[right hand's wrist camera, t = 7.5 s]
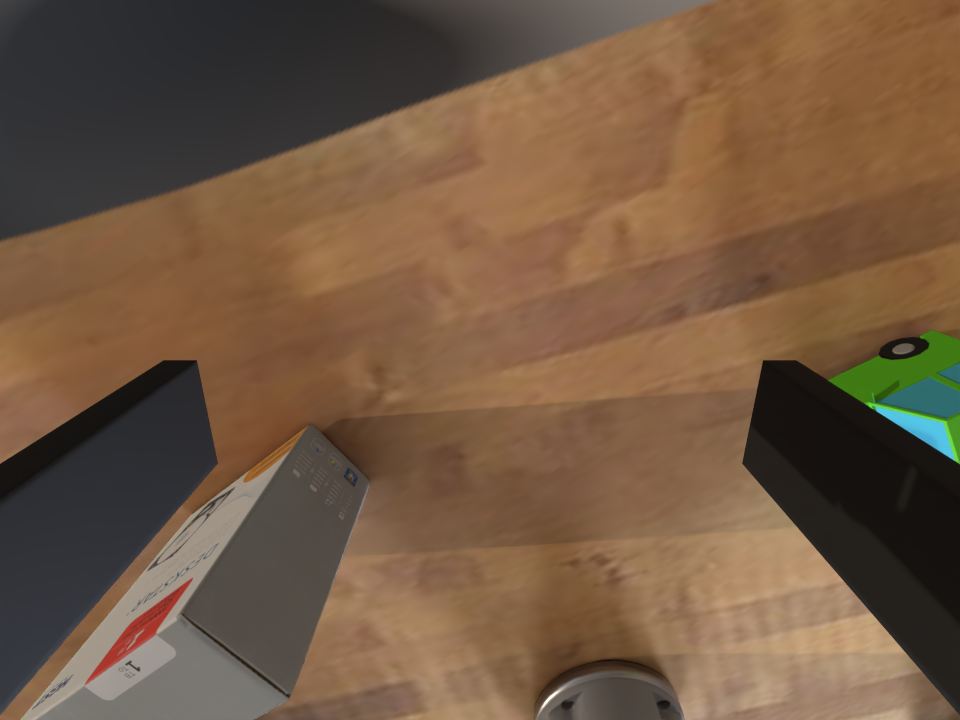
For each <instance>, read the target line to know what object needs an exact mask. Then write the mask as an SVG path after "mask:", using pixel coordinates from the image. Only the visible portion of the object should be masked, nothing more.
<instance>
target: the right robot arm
mask: <svg viewBox="0 0 960 720" xmlns="http://www.w3.org/2000/svg"><path fill="white" fill-rule="evenodd" d="M217 464H218V462H217V458H216V453H215V448H214V443H213V438H212V433H211V428H210V423H209V418H208V413H207V408H206V403H205V398H204V394H203V389H202V384H201V379H200V374H199V369H198V364H197V360H164V361H162V362H160V363H159V364H157V365H156V366H154V367H153V368H151V369H149V370H148V371H146V372H145V373H143V374H142V375H140V376H138V377H137V378H135V379H134V380H132V381H130V382H129V383H127V384H126V385H124V386H123V387H121V388H119V389H118V390H116V391H115V392H113V393H112V394H110V395H108V396H107V397H105V398H104V399H102V400H100V401H99V402H97V403H96V404H94V405H93V406H91V407H89V408H88V409H86V410H85V411H83V412H81V413H80V414H78V415H77V416H75V417H74V418H72V419H70V420H69V421H67V422H66V423H64V424H63V425H61V426H59V427H58V428H56V429H55V430H53V431H51V432H50V433H48V434H47V435H45V436H44V437H42V438H40V439H39V440H37V441H36V442H34V443H33V444H31V445H29V446H28V447H26V448H25V449H23V450H21V451H20V452H18V453H17V454H15V455H14V456H12V457H10V458H9V459H7V460H6V461H4V462H3V463H1V464H0V715H1V713H2V712H3V711H4V710H5V709H6V708H7V707H8V705H9V704H10V703H11V702H12V701H13V700H14V698H15V697H16V696H17V695H18V694H19V693H20V691H21V690H22V689H23V688H24V687H25V686H26V685H27V683H28V682H29V681H30V680H31V679H32V678H33V676H34V675H35V674H36V673H37V672H38V671H39V670H40V668H41V667H42V666H43V665H44V664H45V663H46V661H47V660H48V659H49V658H50V657H51V656H52V654H53V653H54V652H55V651H56V650H57V649H58V648H59V646H60V645H61V644H62V643H63V642H64V641H65V639H66V638H67V637H68V636H69V635H70V634H71V633H72V631H73V630H74V629H75V628H76V627H77V626H78V624H79V623H80V622H81V621H82V620H83V619H84V617H85V616H86V615H87V614H88V613H89V612H90V611H91V609H92V608H93V607H94V606H95V605H96V604H97V602H98V601H99V600H100V599H101V598H102V597H103V596H104V594H105V593H106V592H107V591H108V590H109V589H110V587H111V586H112V585H113V584H114V583H115V582H116V580H117V579H118V578H119V577H120V576H121V575H122V574H123V572H124V571H125V570H126V569H127V568H128V567H129V565H130V564H131V563H132V562H133V561H134V560H135V559H136V557H137V556H138V555H139V554H140V553H141V552H142V550H143V549H144V548H145V547H146V546H147V545H148V543H149V542H150V541H151V540H152V539H153V538H154V537H155V535H156V534H157V533H158V532H159V531H160V530H161V528H162V527H163V526H164V525H165V524H166V523H167V522H168V520H169V519H170V518H171V517H172V516H173V515H174V513H175V512H176V511H177V510H178V509H179V508H180V506H181V505H182V504H183V503H184V502H185V501H186V500H187V498H188V497H189V496H190V495H191V494H192V493H193V491H194V490H195V489H196V488H197V487H198V486H199V485H200V483H201V482H202V481H203V480H204V479H205V478H206V476H207V475H208V474H209V473H210V472H211V471H212V469H213V468H214V467H215V466H216V465H217ZM742 464H743V465H744V466H745V467H746V468H747V469H748V471H749V472H750V473H751V474H752V475H753V476H754V478H755V479H756V480H757V481H758V482H759V483H760V485H761V486H762V487H763V488H764V489H765V490H766V491H767V493H768V494H769V495H770V496H771V497H772V498H773V500H774V501H775V502H776V503H777V504H778V505H779V506H780V508H781V509H782V510H783V511H784V512H785V513H786V515H787V516H788V517H789V518H790V519H791V520H792V522H793V523H794V524H795V525H796V526H797V527H798V528H799V530H800V531H801V532H802V533H803V534H804V535H805V537H806V538H807V539H808V540H809V541H810V542H811V543H812V545H813V546H814V547H815V548H816V549H817V550H818V552H819V553H820V554H821V555H822V556H823V557H824V559H825V560H826V561H827V562H828V563H829V564H830V565H831V567H832V568H833V569H834V570H835V571H836V572H837V574H838V575H839V576H840V577H841V578H842V579H843V580H844V582H845V583H846V584H847V585H848V586H849V587H850V589H851V590H852V591H853V592H854V593H855V594H856V596H857V597H858V598H859V599H860V600H861V601H862V602H863V604H864V605H865V606H866V607H867V608H868V609H869V611H870V612H871V613H872V614H873V615H874V616H875V617H876V619H877V620H878V621H879V622H880V623H881V624H882V626H883V627H884V628H885V629H886V630H887V631H888V633H889V634H890V635H891V636H892V637H893V638H894V639H895V641H896V642H897V643H898V644H899V645H900V646H901V648H902V649H903V650H904V651H905V652H906V653H907V654H908V656H909V657H910V658H911V659H912V660H913V661H914V663H915V664H916V665H917V666H918V667H919V668H920V670H921V671H922V672H923V673H924V674H925V675H926V676H927V678H928V679H929V680H930V681H931V682H932V683H933V685H934V686H935V687H936V688H937V689H938V690H939V692H940V693H941V694H942V695H943V696H944V697H945V698H946V700H947V701H948V702H949V703H950V704H951V705H952V707H953V708H954V709H955V710H956V711H957V712H958V713H959V715H960V464H959V463H957V462H956V461H954V460H953V459H951V458H950V457H948V456H946V455H945V454H943V453H942V452H940V451H939V450H937V449H935V448H934V447H932V446H931V445H929V444H927V443H926V442H924V441H923V440H921V439H920V438H918V437H916V436H915V435H913V434H912V433H910V432H909V431H907V430H905V429H904V428H902V427H901V426H899V425H897V424H896V423H894V422H893V421H891V420H890V419H888V418H886V417H885V416H883V415H882V414H880V413H879V412H877V411H875V410H874V409H872V408H871V407H869V406H867V405H866V404H864V403H863V402H861V401H860V400H858V399H856V398H855V397H853V396H852V395H850V394H848V393H847V392H845V391H844V390H842V389H841V388H839V387H837V386H836V385H834V384H833V383H831V382H830V381H828V380H826V379H825V378H823V377H822V376H820V375H818V374H817V373H815V372H814V371H812V370H811V369H809V368H807V367H806V366H804V365H803V364H801V363H800V362H798V361H796V360H763V364H762V369H761V374H760V379H759V384H758V389H757V394H756V398H755V403H754V408H753V413H752V418H751V423H750V428H749V433H748V438H747V443H746V448H745V453H744V458H743V462H742ZM534 720H684V715H683V712H682V709H681V706H680V703H679V701H678V698H677V695H676V693H675V691H674V689H673V687H672V686H671V684H670V683H669V682H668V681H667V680H666V679H665V678H664V677H663V676H661V675H660V674H659V673H657V672H655V671H654V670H652V669H649V668H647V667H645V666H642V665H639V664H635V663H630V662H623V661H601V662H594V663H589V664H585V665H582V666H579V667H576V668H573V669H571V670H569V671H567V672H565V673H563V674H561V675H560V676H558V677H557V678H556V679H554V680H553V681H552V682H551V683H550V684H548V685H547V687H546V688H545V689H544V690H543V691H542V693H541V694H540V696H539V698H538V700H537V702H536V705H535V709H534Z"/></svg>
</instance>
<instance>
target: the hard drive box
mask: <svg viewBox="0 0 960 720" xmlns="http://www.w3.org/2000/svg"><path fill="white" fill-rule="evenodd" d="M369 486H370V484H369V480H368V479H367V478H366V477H365V476H364V475H363V474H362V473H361V472H360V471H359V470H358V469H357V468H356V467H355V466H354V465H353V464H352V463H351V462H350V461H349V460H348V459H347V458H346V457H345V456H344V455H343V454H342V453H341V452H340V451H339V450H338V449H337V448H336V447H335V446H334V445H333V444H332V443H331V442H330V441H329V440H328V439H327V438H326V437H325V436H324V435H323V434H322V433H321V432H320V431H319V430H317V429H316V428H315V427H314V426H313V425H308V426H307V427H306V428H304V429H303V430H301V431H300V432H299V433H297V434H296V435H295V436H294V437H292V438H291V439H290V440H288V441H287V442H285V443H284V444H283V445H282V446H280V447H279V448H278V449H276V450H275V451H274V452H273V453H271V454H270V455H269V456H268V457H266V458H265V459H264V460H262V461H261V462H260V463H258V464H257V465H256V466H254V467H253V468H252V469H251V470H249V471H248V472H247V473H245V474H244V475H243V476H241V477H240V478H239V479H238V480H236V481H235V482H234V483H232V484H231V485H230V486H228V487H227V488H226V489H224V490H223V491H221V492H220V493H219V494H218V495H217V496H215V497H214V498H212V499H211V500H210V501H208V502H207V503H206V504H205V505H204V506H202V507H201V508H200V509H199V510H197V511H196V512H195V513H193V514H192V515H191V516H190V517H189V518H188V519H187V520H186V522H185V523H184V524H183V525H182V526H181V528H180V529H179V530H178V531H177V532H176V534H175V535H174V536H173V537H172V538H171V539H170V541H169V542H168V543H167V544H166V545H165V547H164V548H163V549H162V550H161V551H160V553H159V554H158V555H157V556H156V558H155V559H154V560H153V561H152V562H151V564H150V565H149V566H148V567H147V568H146V570H145V571H144V572H143V573H142V575H141V576H140V577H139V578H138V579H137V581H136V582H135V583H134V584H133V585H132V587H131V588H130V589H129V590H128V591H127V593H126V594H125V595H124V596H123V597H122V599H121V600H120V601H119V602H118V603H117V605H116V606H115V607H114V608H113V609H112V611H111V612H110V613H109V614H108V616H107V617H106V618H105V619H104V620H103V622H102V623H101V624H100V625H99V626H98V627H97V629H96V630H95V631H94V632H93V633H92V635H91V636H90V637H89V638H88V639H87V641H86V642H85V643H84V644H83V645H82V647H81V648H80V649H79V650H78V652H77V653H76V654H75V655H74V656H73V658H72V659H71V660H70V661H69V662H68V664H67V665H66V666H65V667H64V668H63V670H62V671H61V672H60V673H59V674H58V676H57V677H56V678H55V679H54V680H53V682H52V683H51V684H50V685H49V686H48V688H47V689H46V690H45V691H44V692H43V694H42V695H41V696H40V697H39V698H38V700H37V701H36V702H35V703H34V704H33V705H32V707H31V708H30V709H29V710H28V711H27V712H26V714H25V715H24V716H23V717H22V718H21V720H257V719H258V718H260V717H262V716H263V715H265V714H266V713H268V712H270V711H271V710H273V709H274V708H276V707H277V706H279V705H281V704H282V703H284V702H286V701H287V700H288V699H289V697H290V695H291V694H292V692H293V689H294V686H295V684H296V681H297V679H298V676H299V674H300V671H301V668H302V665H303V664H304V661H305V657H306V654H307V652H308V649H309V646H310V644H311V641H312V638H313V636H314V633H315V630H316V627H317V625H318V622H319V619H320V617H321V614H322V611H323V609H324V606H325V603H326V601H327V598H328V595H329V593H330V590H331V587H332V585H333V582H334V580H335V577H336V574H337V572H338V569H339V566H340V564H341V561H342V558H343V556H344V553H345V550H346V548H347V545H348V542H349V540H350V537H351V534H352V532H353V529H354V526H355V524H356V521H357V518H358V516H359V513H360V511H361V508H362V505H363V503H364V500H365V497H366V495H367V492H368V489H369Z"/></svg>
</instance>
